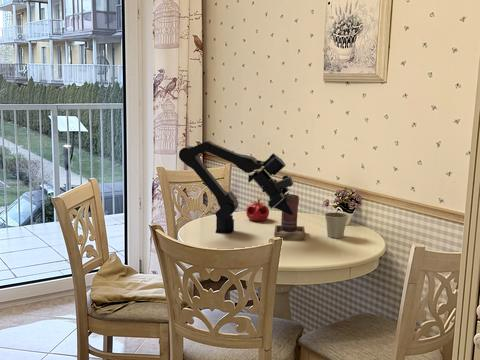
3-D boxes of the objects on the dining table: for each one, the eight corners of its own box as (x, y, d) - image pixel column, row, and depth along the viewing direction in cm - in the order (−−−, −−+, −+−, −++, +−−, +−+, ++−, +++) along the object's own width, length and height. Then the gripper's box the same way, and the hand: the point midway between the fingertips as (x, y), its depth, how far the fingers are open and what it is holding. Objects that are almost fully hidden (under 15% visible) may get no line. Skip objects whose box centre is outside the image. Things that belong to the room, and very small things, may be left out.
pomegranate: (247, 217, 252) (247, 196, 251) (270, 218, 251) (270, 197, 249) (244, 222, 242) (244, 200, 241) (268, 222, 241) (268, 201, 240)
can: (299, 232, 219) (301, 196, 217) (283, 232, 218) (284, 196, 216) (294, 228, 225) (296, 193, 223) (279, 228, 224) (281, 193, 221)
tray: (274, 239, 217) (274, 232, 216) (275, 231, 228) (275, 225, 228) (304, 240, 216) (304, 234, 215) (304, 232, 227) (304, 226, 227)
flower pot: (332, 231, 229) (333, 211, 227) (352, 236, 222) (353, 215, 221) (318, 235, 222) (319, 214, 221) (338, 241, 216) (339, 218, 214)
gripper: (278, 173, 209) (306, 204, 209) (284, 166, 227) (310, 194, 227) (256, 192, 212) (284, 223, 212) (264, 184, 230) (290, 212, 230)
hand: (293, 212), depth 220 cm, fingers open, 5 cm apart
